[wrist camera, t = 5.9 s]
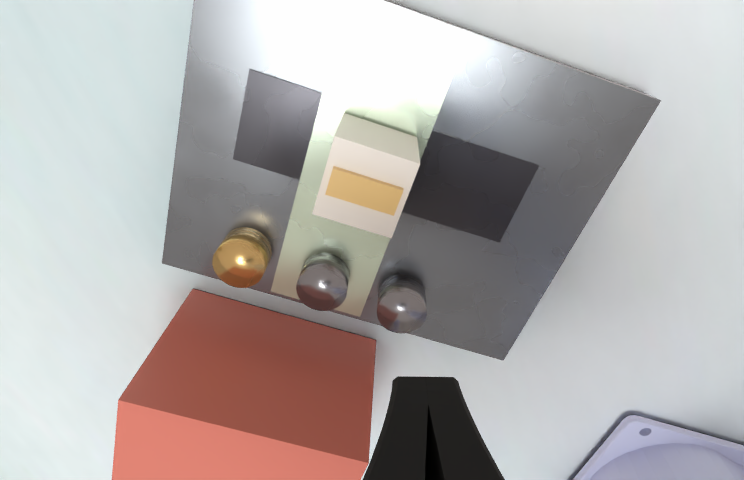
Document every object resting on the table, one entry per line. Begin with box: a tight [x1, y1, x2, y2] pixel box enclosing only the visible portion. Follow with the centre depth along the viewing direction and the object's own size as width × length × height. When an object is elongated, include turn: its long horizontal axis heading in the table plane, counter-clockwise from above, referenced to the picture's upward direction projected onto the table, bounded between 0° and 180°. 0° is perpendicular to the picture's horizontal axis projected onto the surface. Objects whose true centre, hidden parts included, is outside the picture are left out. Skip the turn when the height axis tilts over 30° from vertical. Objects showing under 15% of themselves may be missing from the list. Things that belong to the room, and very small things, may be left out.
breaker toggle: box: [312, 113, 420, 238], centre depth 14 cm, size 2×2×3 cm
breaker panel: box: [162, 0, 661, 360], centre depth 16 cm, size 14×11×2 cm
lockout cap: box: [112, 289, 376, 480], centre depth 19 cm, size 8×6×6 cm
